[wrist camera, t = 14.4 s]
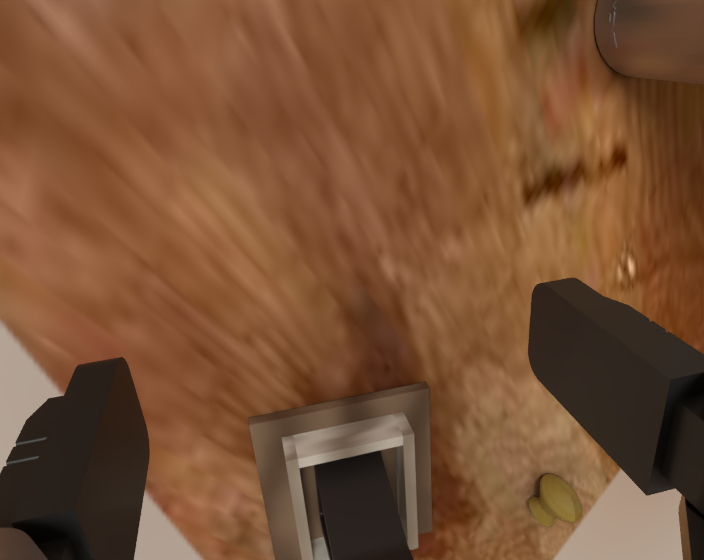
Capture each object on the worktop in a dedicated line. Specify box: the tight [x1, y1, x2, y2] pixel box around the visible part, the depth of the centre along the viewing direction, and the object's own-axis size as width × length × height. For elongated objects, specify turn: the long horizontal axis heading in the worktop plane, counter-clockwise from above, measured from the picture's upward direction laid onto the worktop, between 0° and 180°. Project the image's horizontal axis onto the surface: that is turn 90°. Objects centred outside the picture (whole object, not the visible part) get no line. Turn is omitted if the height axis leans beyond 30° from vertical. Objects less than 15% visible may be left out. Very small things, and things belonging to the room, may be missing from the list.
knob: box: [529, 474, 583, 527], centre depth 57 cm, size 5×5×5 cm
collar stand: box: [248, 382, 432, 560], centre depth 50 cm, size 16×18×4 cm
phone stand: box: [314, 450, 414, 560], centre depth 46 cm, size 9×6×12 cm, turn 3°
